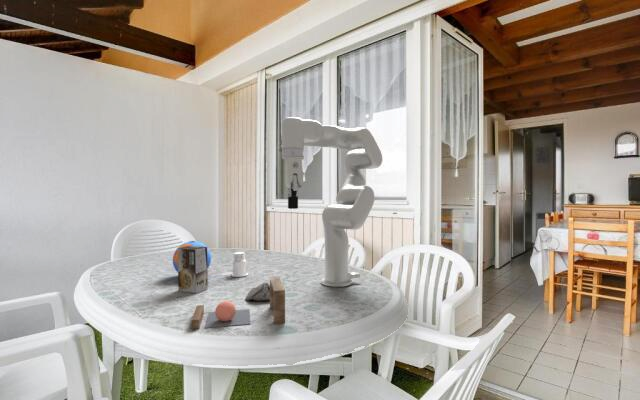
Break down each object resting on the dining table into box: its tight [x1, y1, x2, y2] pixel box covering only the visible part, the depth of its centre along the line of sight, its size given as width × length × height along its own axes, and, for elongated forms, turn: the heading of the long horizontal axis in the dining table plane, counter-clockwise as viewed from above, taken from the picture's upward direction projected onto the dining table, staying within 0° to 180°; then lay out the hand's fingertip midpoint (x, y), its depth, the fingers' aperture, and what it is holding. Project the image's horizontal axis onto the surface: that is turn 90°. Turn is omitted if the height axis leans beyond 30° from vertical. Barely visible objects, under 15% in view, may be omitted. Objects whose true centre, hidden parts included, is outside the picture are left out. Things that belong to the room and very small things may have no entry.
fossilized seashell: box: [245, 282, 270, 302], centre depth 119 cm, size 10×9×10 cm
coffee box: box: [177, 246, 209, 294], centre depth 129 cm, size 9×6×16 cm
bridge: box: [269, 277, 286, 325], centre depth 103 cm, size 3×15×9 cm, turn 13°
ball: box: [214, 300, 237, 322], centre depth 98 cm, size 6×6×6 cm
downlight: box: [231, 251, 249, 278], centre depth 151 cm, size 8×7×10 cm
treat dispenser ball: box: [172, 240, 212, 273], centre depth 149 cm, size 16×15×15 cm
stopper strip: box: [190, 304, 205, 330], centre depth 98 cm, size 2×12×2 cm, turn 13°
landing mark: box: [204, 308, 251, 329], centre depth 100 cm, size 12×12×1 cm
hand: (293, 208), depth 118 cm, fingers closed
